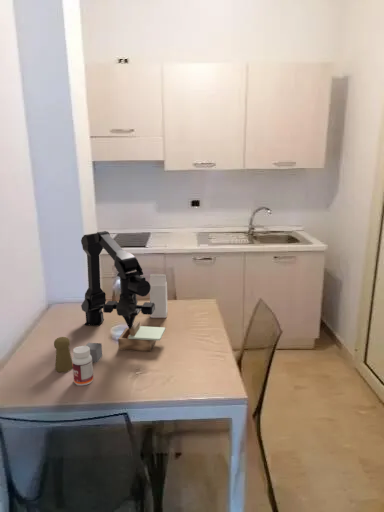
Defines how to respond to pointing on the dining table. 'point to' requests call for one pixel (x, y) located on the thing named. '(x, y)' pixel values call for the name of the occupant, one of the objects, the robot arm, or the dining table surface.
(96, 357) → the cube
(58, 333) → the dining table surface
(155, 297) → the milk carton
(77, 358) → the pill bottle
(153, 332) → the lid
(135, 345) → the box
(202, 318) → the dining table surface
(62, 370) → the pepper shaker
